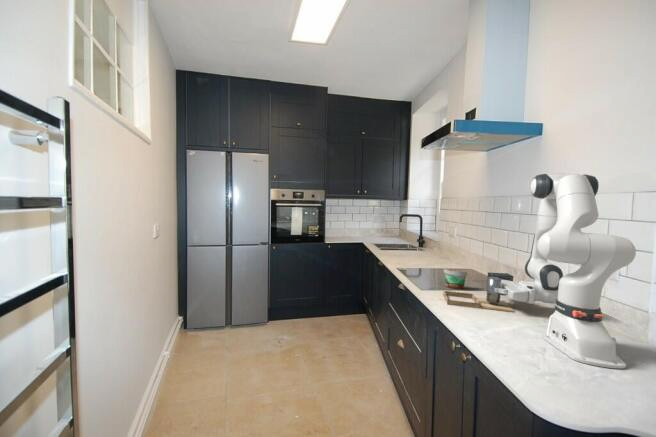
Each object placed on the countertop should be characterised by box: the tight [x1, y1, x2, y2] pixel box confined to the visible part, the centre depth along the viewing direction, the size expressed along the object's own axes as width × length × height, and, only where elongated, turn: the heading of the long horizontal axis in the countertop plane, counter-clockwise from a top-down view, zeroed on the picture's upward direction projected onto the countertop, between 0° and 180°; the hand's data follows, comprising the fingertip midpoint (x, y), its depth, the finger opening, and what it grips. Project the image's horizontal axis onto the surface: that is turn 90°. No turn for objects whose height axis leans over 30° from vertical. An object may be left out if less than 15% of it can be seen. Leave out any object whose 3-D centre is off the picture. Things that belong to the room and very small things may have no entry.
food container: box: [443, 268, 468, 291], centre depth 157 cm, size 12×6×10 cm, turn 71°
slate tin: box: [485, 276, 502, 303], centre depth 134 cm, size 6×6×11 cm
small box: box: [486, 272, 514, 296], centre depth 152 cm, size 11×6×10 cm, turn 84°
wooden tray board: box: [442, 290, 516, 313], centre depth 136 cm, size 14×28×2 cm, turn 76°
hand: (491, 287), depth 134 cm, fingers closed on slate tin, 5 cm apart
